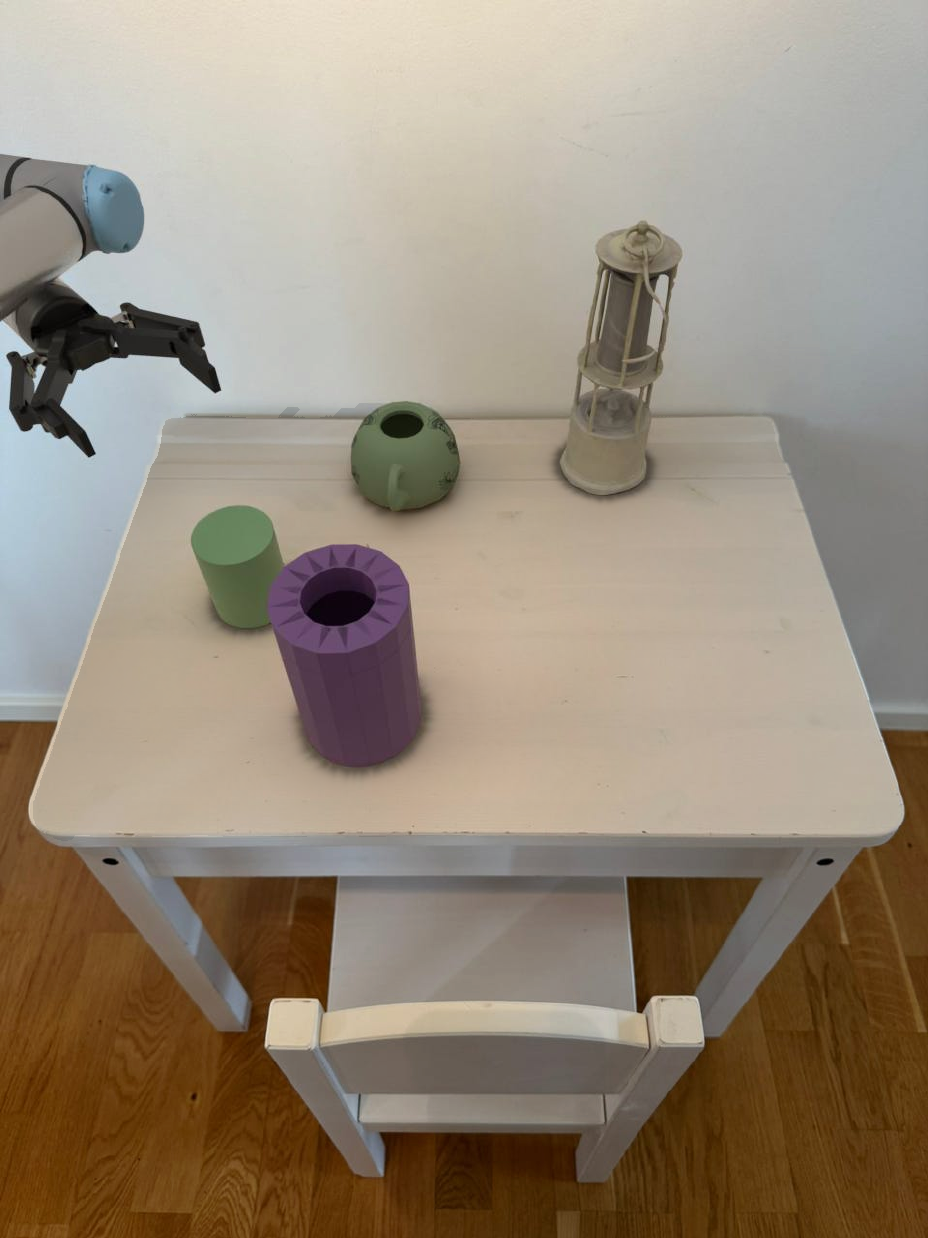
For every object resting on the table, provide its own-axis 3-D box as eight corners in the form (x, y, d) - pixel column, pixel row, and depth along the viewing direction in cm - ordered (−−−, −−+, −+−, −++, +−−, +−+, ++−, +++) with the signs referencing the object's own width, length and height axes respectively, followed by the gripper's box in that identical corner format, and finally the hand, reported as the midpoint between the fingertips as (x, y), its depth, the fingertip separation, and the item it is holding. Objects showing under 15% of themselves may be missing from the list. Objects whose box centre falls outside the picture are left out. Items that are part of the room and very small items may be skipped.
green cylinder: (200, 611, 91) (173, 547, 83) (245, 561, 95) (224, 495, 87) (262, 639, 88) (240, 575, 80) (305, 586, 93) (289, 520, 85)
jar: (298, 767, 79) (258, 654, 65) (310, 667, 86) (276, 545, 72) (419, 766, 79) (406, 651, 65) (422, 666, 86) (410, 542, 72)
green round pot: (361, 441, 107) (353, 383, 100) (465, 445, 106) (464, 387, 99) (339, 534, 97) (329, 477, 90) (453, 540, 96) (451, 483, 90)
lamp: (639, 436, 107) (685, 193, 83) (656, 510, 99) (711, 265, 75) (556, 438, 107) (578, 196, 83) (566, 512, 99) (593, 268, 75)
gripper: (165, 303, 99) (270, 387, 89) (-47, 398, 89) (45, 504, 79) (145, 240, 93) (255, 323, 83) (-85, 334, 83) (10, 441, 73)
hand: (153, 411), depth 81 cm, fingers open, 13 cm apart
